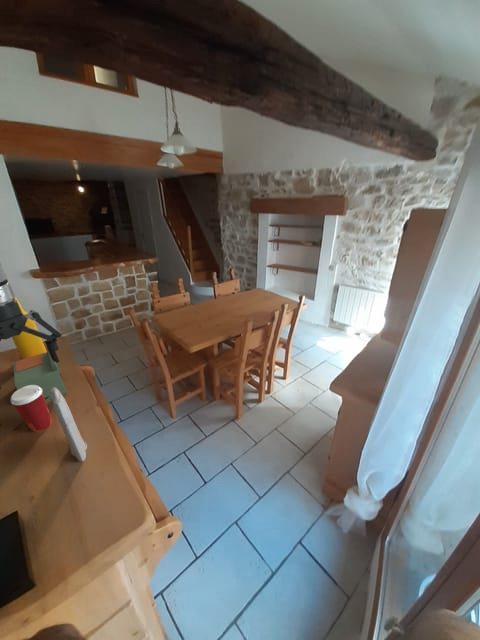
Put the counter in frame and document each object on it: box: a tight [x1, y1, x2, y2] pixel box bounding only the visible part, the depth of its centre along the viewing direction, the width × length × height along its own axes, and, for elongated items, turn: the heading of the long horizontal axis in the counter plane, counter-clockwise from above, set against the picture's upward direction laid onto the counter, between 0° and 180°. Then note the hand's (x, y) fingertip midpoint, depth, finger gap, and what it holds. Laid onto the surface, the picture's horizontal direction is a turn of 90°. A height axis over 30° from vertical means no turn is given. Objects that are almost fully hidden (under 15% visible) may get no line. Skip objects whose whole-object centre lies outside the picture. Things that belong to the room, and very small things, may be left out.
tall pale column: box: [51, 387, 88, 463], centre depth 69 cm, size 11×4×22 cm, turn 40°
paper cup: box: [10, 385, 53, 433], centre depth 79 cm, size 8×8×14 cm
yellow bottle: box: [11, 296, 48, 360], centre depth 109 cm, size 9×9×29 cm
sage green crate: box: [13, 347, 68, 403], centre depth 94 cm, size 12×16×13 cm
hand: (28, 373), depth 69 cm, fingers open, 13 cm apart
